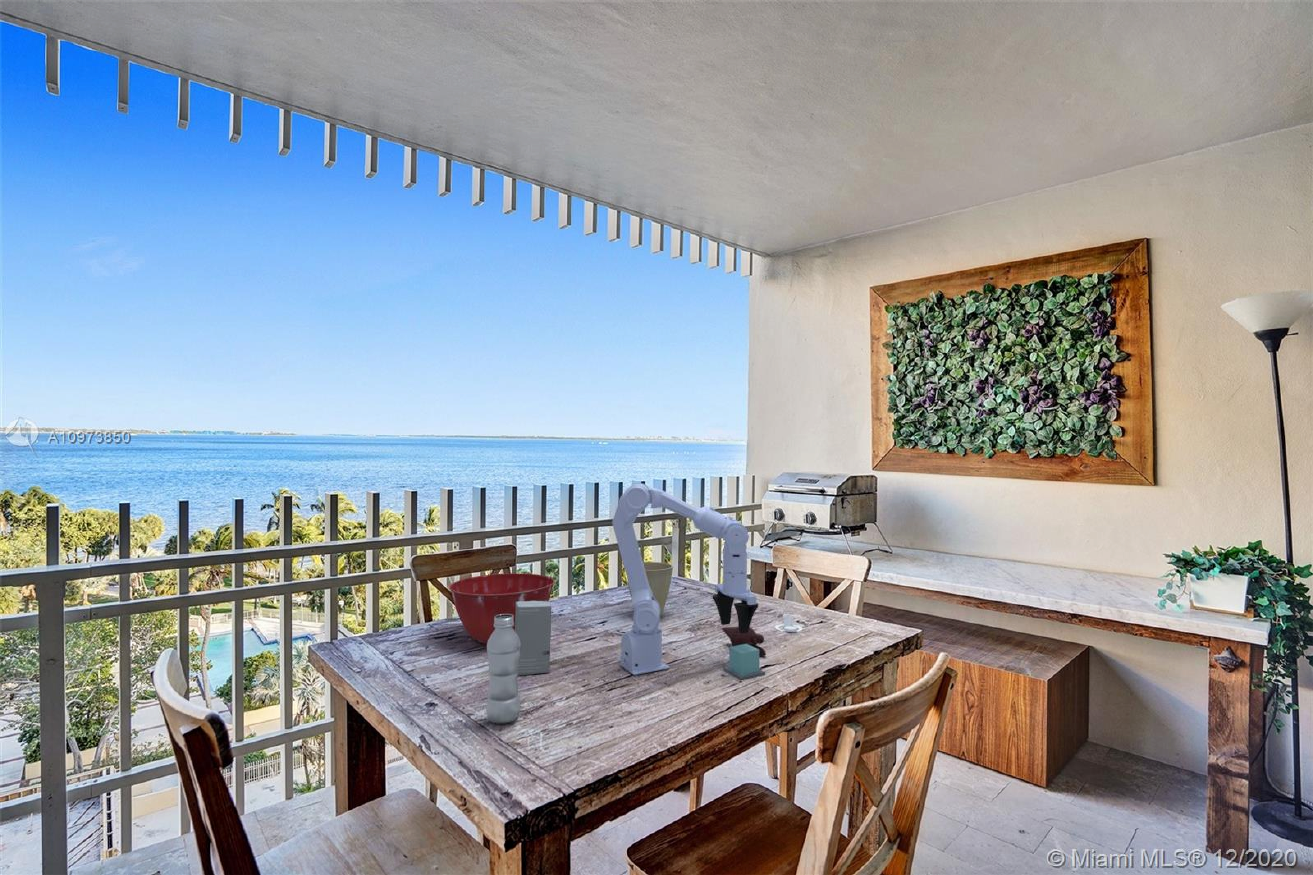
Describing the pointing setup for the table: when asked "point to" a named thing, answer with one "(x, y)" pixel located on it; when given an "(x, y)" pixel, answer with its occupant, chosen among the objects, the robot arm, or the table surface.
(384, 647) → the table surface
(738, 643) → the dark brown lumpy figure
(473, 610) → the mixing bowl
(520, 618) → the skincare box
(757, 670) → the teal cube
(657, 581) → the plant pot
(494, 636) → the plastic bottle
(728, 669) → the slate coaster
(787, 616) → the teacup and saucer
